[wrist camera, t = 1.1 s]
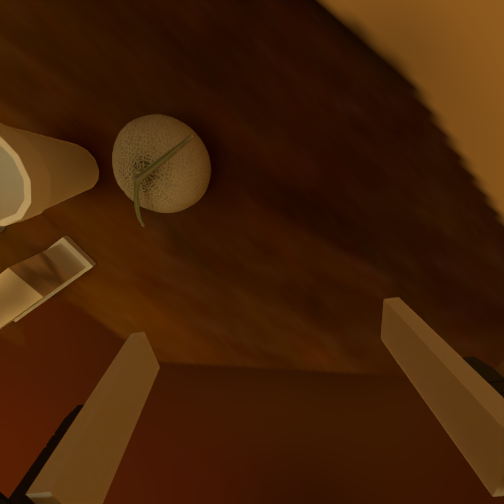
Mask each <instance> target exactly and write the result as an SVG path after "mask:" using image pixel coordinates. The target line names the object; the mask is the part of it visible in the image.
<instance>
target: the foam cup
mask: <svg viewBox="0 0 504 504" xmlns="http://www.w3.org/2000/svg"><path fill="white" fill-rule="evenodd" d="M98 178H99V168H98V166H97V163H96V160H95V159H94V157H93V156H92V155H91V154H90V153H89V151H88V150H86V149H84V148H83V147H81V146H79V145H77V144H74V143H71V142H67V141H63V140H59V139H56V138H52V137H48V136H44V135H40V134H36V133H33V132H29V131H25V130H21V129H17V128H13V127H10V126H6V125H4V124H2V123H0V226H6V225H10V224H13V223H17V222H20V221H23V220H26V219H29V218H31V217H34V216H36V215H39V214H41V213H42V212H43V210H45V209H47V208H49V207H51V206H54V205H56V204H58V203H60V202H62V201H65V200H67V199H69V198H71V197H73V196H75V195H78V194H80V193H82V192H84V191H86V190H89V189H91V188H93V187H94V186H95V184H96V183H97V181H98Z"/></svg>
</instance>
